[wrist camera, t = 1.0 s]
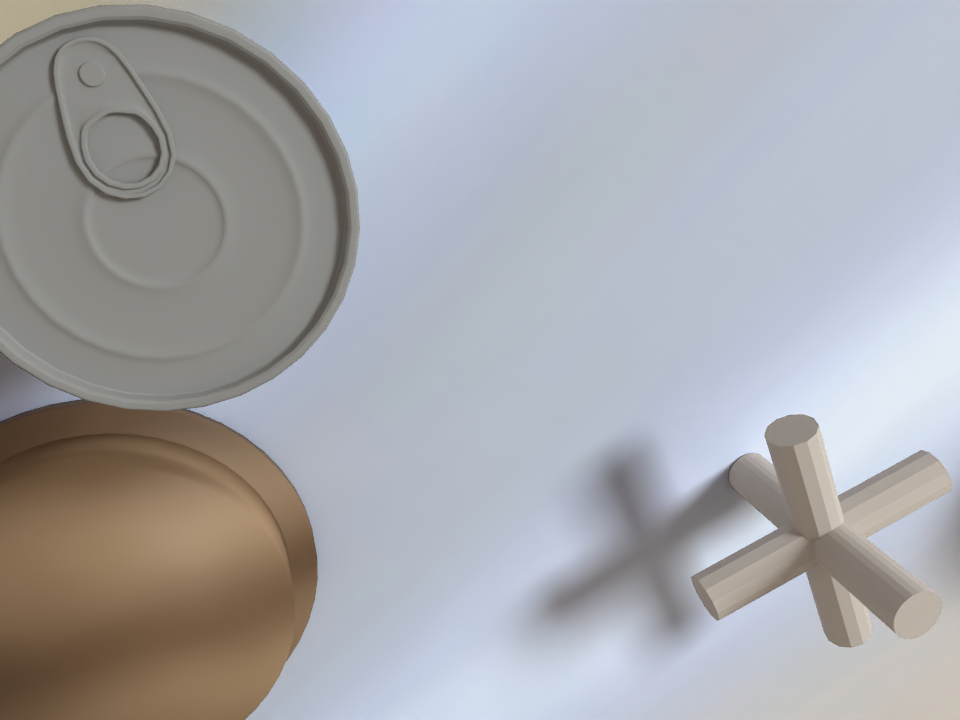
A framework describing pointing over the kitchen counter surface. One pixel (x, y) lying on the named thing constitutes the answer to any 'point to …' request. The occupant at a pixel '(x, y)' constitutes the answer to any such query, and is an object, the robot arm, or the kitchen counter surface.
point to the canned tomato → (164, 209)
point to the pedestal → (145, 566)
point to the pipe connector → (827, 537)
